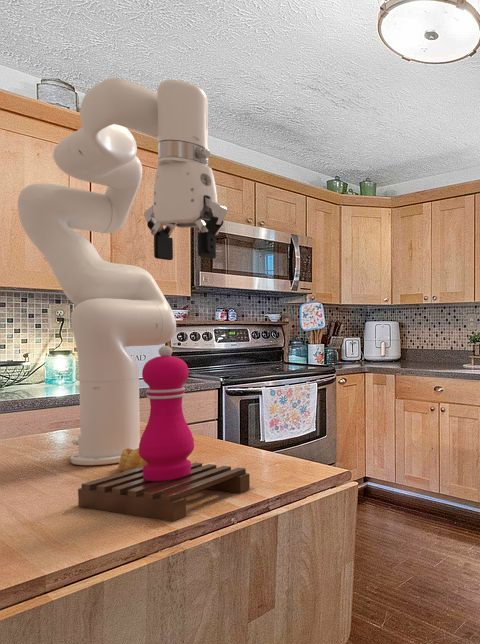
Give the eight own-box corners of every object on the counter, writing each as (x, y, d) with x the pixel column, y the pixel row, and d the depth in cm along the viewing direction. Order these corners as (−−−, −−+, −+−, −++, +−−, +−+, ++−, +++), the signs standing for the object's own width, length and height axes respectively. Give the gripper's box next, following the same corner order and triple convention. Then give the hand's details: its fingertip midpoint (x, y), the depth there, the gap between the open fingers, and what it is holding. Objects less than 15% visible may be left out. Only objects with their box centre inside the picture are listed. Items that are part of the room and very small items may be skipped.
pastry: (182, 460, 97) (182, 441, 97) (177, 469, 91) (177, 449, 91) (125, 465, 93) (124, 445, 93) (115, 475, 87) (115, 454, 87)
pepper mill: (168, 484, 72) (166, 347, 71) (126, 480, 74) (124, 346, 73) (205, 470, 79) (203, 345, 78) (166, 467, 81) (164, 344, 80)
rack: (78, 506, 72) (77, 483, 72) (164, 478, 86) (164, 459, 86) (173, 521, 67) (173, 496, 67) (249, 489, 80) (249, 468, 80)
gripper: (240, 161, 87) (241, 259, 87) (165, 169, 92) (166, 262, 93) (205, 146, 80) (206, 253, 80) (125, 156, 85) (127, 257, 85)
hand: (185, 258), depth 86 cm, fingers open, 9 cm apart
